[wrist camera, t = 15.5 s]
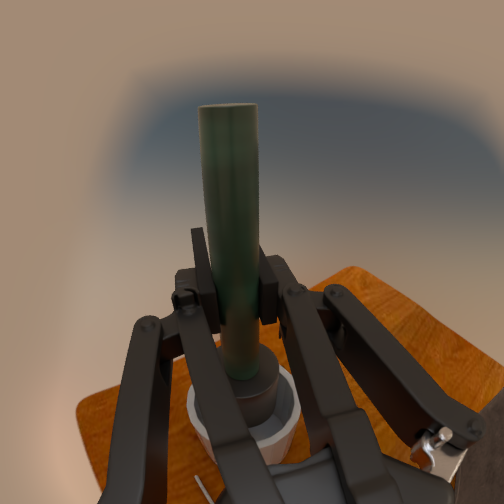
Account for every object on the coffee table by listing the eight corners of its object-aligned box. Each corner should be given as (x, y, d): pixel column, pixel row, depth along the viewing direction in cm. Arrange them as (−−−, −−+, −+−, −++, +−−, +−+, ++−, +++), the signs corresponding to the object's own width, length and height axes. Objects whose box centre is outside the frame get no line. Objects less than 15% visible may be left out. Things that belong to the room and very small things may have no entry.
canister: (191, 460, 22) (168, 428, 17) (220, 394, 29) (211, 345, 24) (278, 484, 20) (287, 462, 15) (298, 412, 27) (310, 366, 22)
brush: (204, 418, 19) (134, 116, 8) (225, 372, 23) (198, 104, 12) (266, 435, 17) (279, 107, 7) (281, 384, 21) (301, 103, 11)
